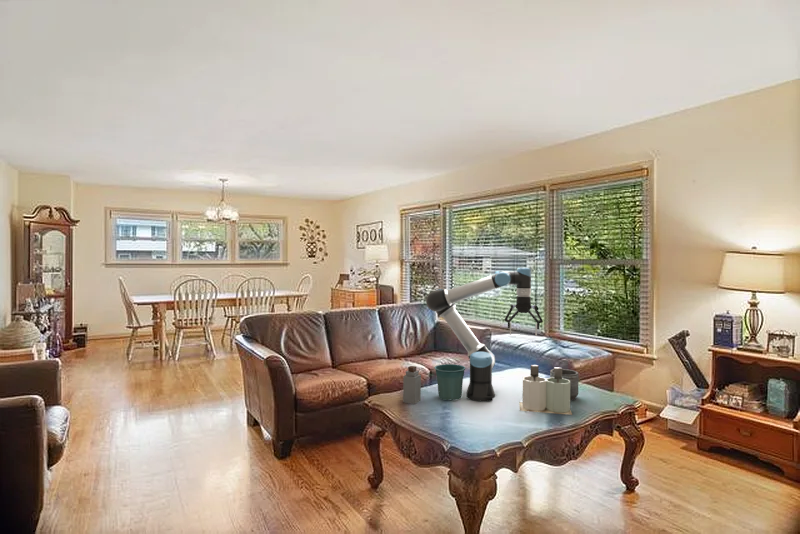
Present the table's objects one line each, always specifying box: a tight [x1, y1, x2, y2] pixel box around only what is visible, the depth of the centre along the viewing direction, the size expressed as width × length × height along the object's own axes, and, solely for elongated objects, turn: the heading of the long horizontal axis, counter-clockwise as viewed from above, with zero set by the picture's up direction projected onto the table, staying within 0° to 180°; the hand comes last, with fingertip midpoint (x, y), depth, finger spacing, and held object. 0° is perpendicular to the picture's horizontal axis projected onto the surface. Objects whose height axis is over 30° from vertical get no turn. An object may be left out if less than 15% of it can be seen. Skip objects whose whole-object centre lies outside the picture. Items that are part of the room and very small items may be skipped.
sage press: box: [545, 366, 571, 413], centre depth 231 cm, size 11×14×20 cm
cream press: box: [522, 375, 546, 411], centre depth 233 cm, size 11×14×14 cm
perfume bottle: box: [402, 365, 422, 405], centre depth 244 cm, size 7×7×18 cm
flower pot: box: [434, 363, 466, 401], centre depth 251 cm, size 16×16×16 cm
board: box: [518, 401, 573, 416], centre depth 231 cm, size 24×14×1 cm, turn 76°
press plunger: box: [529, 364, 540, 382], centre depth 232 cm, size 8×8×15 cm
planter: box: [549, 368, 580, 402], centre depth 248 cm, size 14×14×15 cm
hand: (523, 334), depth 258 cm, fingers open, 13 cm apart
